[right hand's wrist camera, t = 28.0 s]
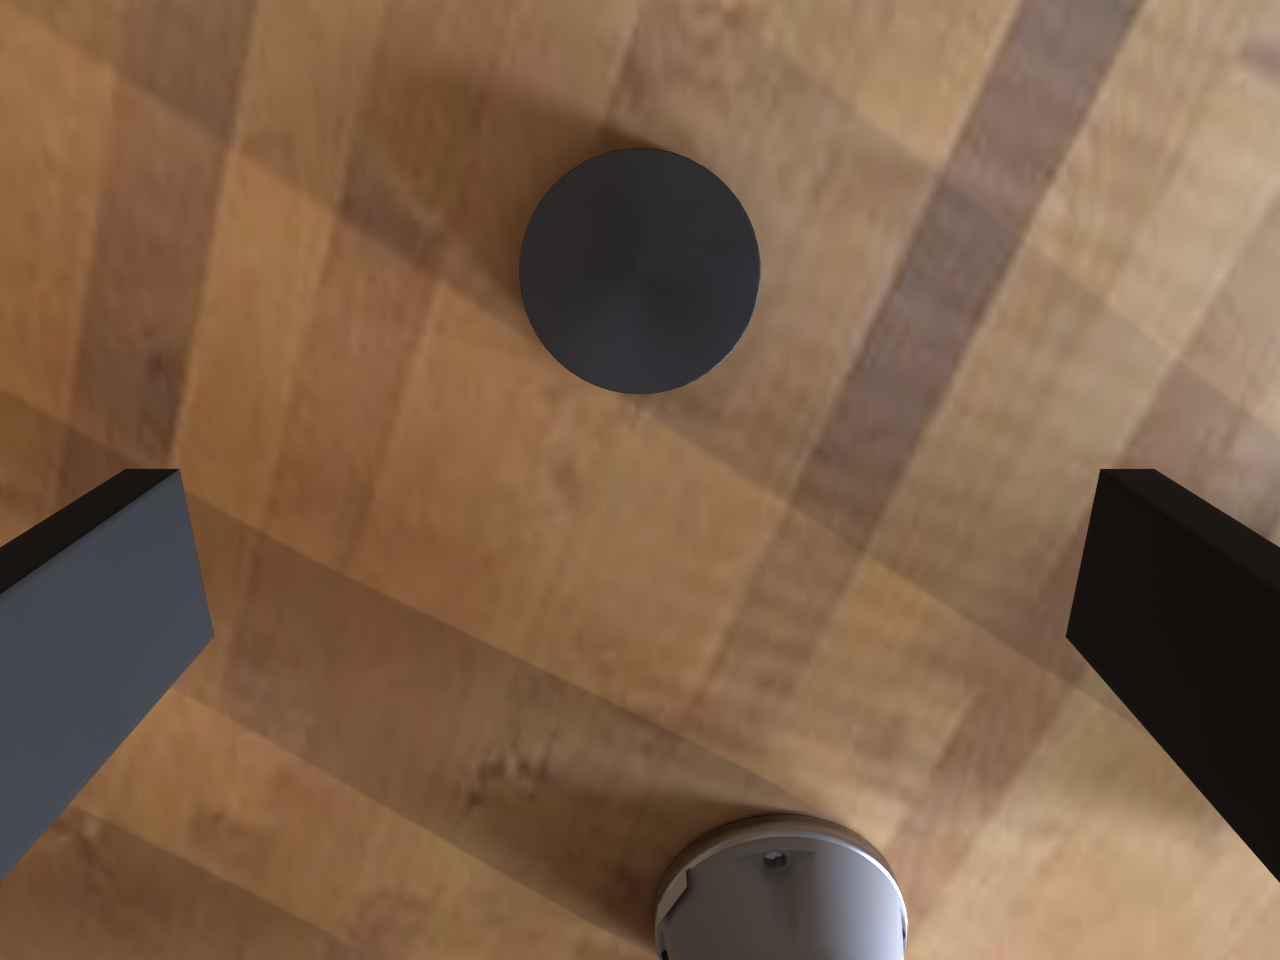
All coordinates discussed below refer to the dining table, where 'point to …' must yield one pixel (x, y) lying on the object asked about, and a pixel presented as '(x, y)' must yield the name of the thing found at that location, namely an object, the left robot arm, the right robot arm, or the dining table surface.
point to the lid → (639, 271)
